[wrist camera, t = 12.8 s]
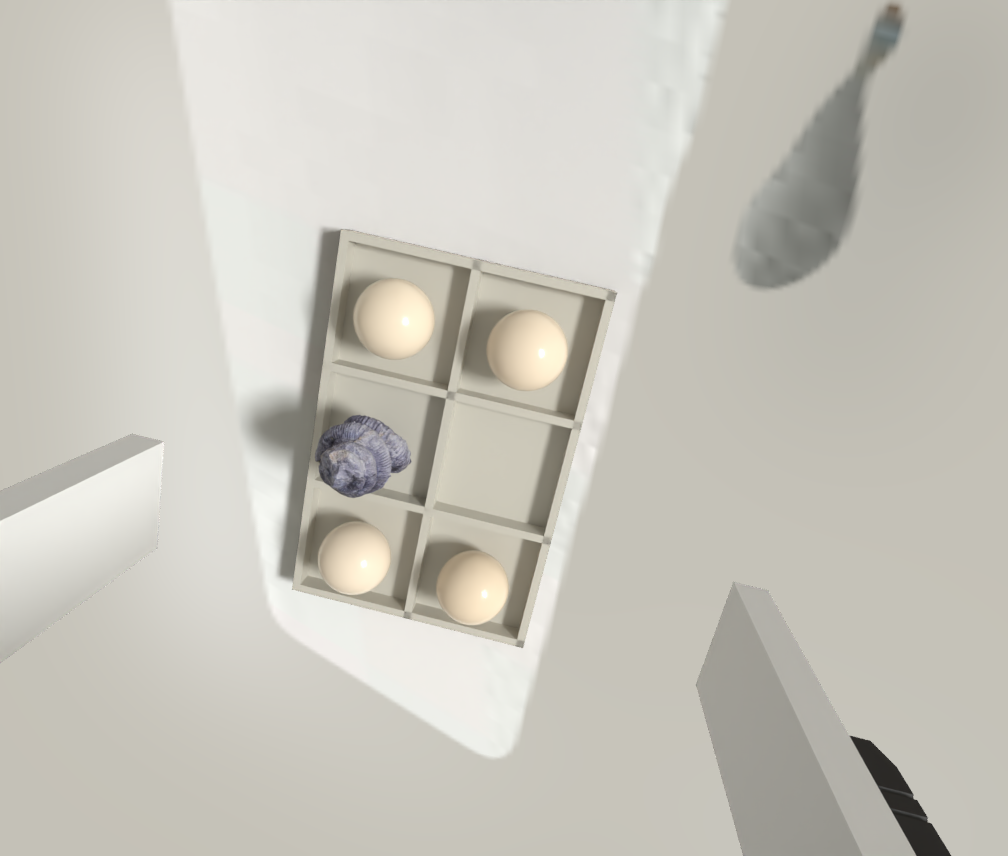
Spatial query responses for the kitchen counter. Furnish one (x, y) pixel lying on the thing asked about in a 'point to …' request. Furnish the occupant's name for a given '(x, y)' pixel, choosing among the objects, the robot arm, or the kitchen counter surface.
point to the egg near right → (527, 350)
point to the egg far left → (354, 558)
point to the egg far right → (472, 587)
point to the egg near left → (394, 318)
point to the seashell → (360, 456)
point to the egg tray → (452, 430)
